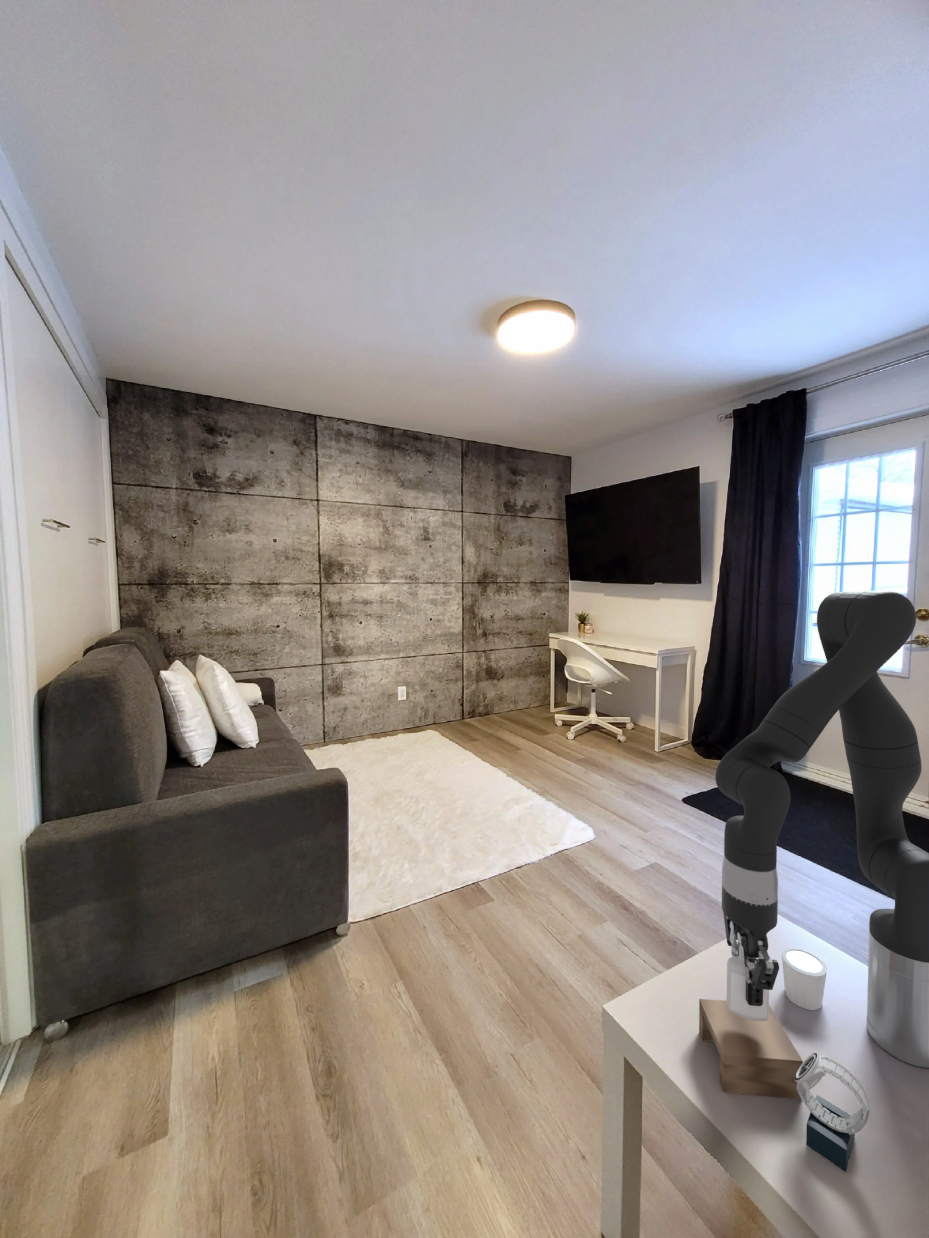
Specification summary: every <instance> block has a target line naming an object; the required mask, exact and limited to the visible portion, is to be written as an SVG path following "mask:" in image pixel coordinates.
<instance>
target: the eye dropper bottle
mask: <svg viewBox="0 0 929 1238" xmlns="http://www.w3.org/2000/svg"><path fill="white" fill-rule="evenodd" d="M747 958H750V959H758V958H751V957H747ZM754 969H755V968H752V974H753V973H754ZM726 1001H727V1005H728V1008H729V1010H730V1011H731V1012H732V1013H733V1014H735V1015H737V1016H740V1017H742V1018H745V1019H748V1020H753V1021H766V1020H768V1017H769V1006H770V990H764V989H763V1005H762V1006H751V1005H749V1004H748V1003H747V1001H746V973H745V965H744V964H743V963H742V961H741V953H740V944H739V956H734V957H733V956H731V957H729V958H728V959H727V961H726Z"/></svg>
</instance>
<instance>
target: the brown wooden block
mask: <svg viewBox="0 0 929 1238" xmlns="http://www.w3.org/2000/svg"><path fill="white" fill-rule="evenodd" d="M698 1004H699V1005H698V1006H699V1008H698V1011H699V1012H698V1025H699V1026H698V1032H699V1033H698V1034H699V1035H700V1038H701V1040H702V1041H704V1042H714V1045H715V1047H716V1049H717V1052H718V1054H719V1084H720V1087H721V1089H722V1092H723V1094H724V1093H725V1094H733V1095H734V1094H737V1095H746V1096H760V1097H768V1098H769V1097H771V1098H782V1099H793V1100H795V1099H796V1100H802V1099H801V1097H800V1095H799V1093H798V1091H797V1082H796V1081H795V1075H796V1073H797V1071H798V1069H799V1067H800V1066H801V1065H802V1063H803V1062H804V1061H803V1059H802V1057H801V1056H800V1054H799V1052H798V1051H797V1049H796V1047H795V1045H794V1044H793V1042H792V1040H791V1038H790V1037H789V1035H788V1034H787V1032H786V1030H785V1029H784V1027H783V1025H782V1024H781V1022H780V1020H779V1018H778V1017H777V1015H776V1014H775V1012H774V1011H773V1009H772V1008H771V1006H770V1005H769V1017H768V1020H766V1021H753V1020H748V1019H745V1018H742V1017H740V1016H737V1015H735V1014H733V1013H732V1012H731V1011H730V1010H729V1008H728V1005H727V1000H723V999H722V1000H720V999H705V998H699V1002H698Z"/></svg>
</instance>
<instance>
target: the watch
mask: <svg viewBox="0 0 929 1238" xmlns="http://www.w3.org/2000/svg"><path fill="white" fill-rule="evenodd" d="M826 1074H828V1075H831V1076H833V1077H834V1078H835V1079H837V1080H839V1081H840V1082H841V1083H842V1084H843V1085H844V1086H847V1088H848V1090H850V1091H851V1093H852V1094H854V1097H855V1098H856V1099H857V1100H858V1102H859V1104H860V1109H859V1110H858V1111H857V1112H856V1113H854V1114H849V1113H848V1112H847V1111H845V1110H843V1109H841V1108H840V1107H838V1106H836V1105H835V1104H833V1103H832V1102H830V1101H828V1100H827V1099H825V1098H824V1097H822V1096H820V1095H818V1094H816V1096H814V1094H813V1093H812V1092H811V1091H810V1090H811V1089H813V1088H814V1087H815V1086H817V1084H818V1083H819V1082H820V1081H821V1080H822V1078H823V1077H825V1076H826ZM795 1081H796V1082H797V1091H798V1093H799V1095H800V1097H801V1099H800V1100H802V1103H804V1105H805V1107H806V1108H807V1109H808V1110H809V1111H810V1113H809V1116H808V1118H807V1121H806V1128H805V1129H806V1134H805V1135H806V1136H805V1139H806V1140H805V1142H806V1143H805V1145H806V1146H807V1147H808V1148H810V1149H811V1150H813V1151H814V1152H816V1153H817V1154H818V1155H820V1156H821V1157H822V1158H825V1160H827V1161H829V1162H830V1163H832V1164H833V1165H835V1166H836V1167H837V1168H839V1169H840V1170H841V1171H843V1172H845V1173H847V1169H848V1166H849V1162H850V1159H851V1155H852V1150H853V1147H854V1144H855V1143H854V1142H855V1141H856V1139H855V1136H856V1135H855V1134H857V1133H858V1132H861V1130H863V1129H864V1127H865V1126H866V1124H867V1122H868V1119H869V1116H870V1111H871V1110H870V1102H869V1098H868V1095H867V1093H866V1091H865V1089H864V1087H863V1086H862V1084H861V1083H860V1082H859V1080H858V1079H857V1078H856V1077H855V1075H854V1074H852V1073H851V1071H849V1070H848V1069H847V1068H846V1067H845V1066H843V1065H842V1064H841V1063H839V1062H837V1061H835V1060H833V1059H831V1058H830V1057H829V1056H828V1055H820V1054H819V1053H818V1052H814V1053H811V1054H810V1055H808V1057H807V1058H806V1059H805V1060H804V1061H803V1063H802V1065H801V1066H800V1067H799V1069H798V1071H797V1073H796V1075H795Z"/></svg>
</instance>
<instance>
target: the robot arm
mask: <svg viewBox="0 0 929 1238" xmlns="http://www.w3.org/2000/svg"><path fill="white" fill-rule="evenodd" d="M916 613H917V612H916V609H915V606H914V604H913V603H912V602H911V600H910V599H909V598H908V597H906V596H905V595H904V594H902V593H899V592H896V591H890V590H854V591H852V590H850V591H837V592H833V593H832V592H831V594H829V595H828V594H827V596H826V597H824V599H823V600H822V601H821V603H819V606H818V610H817V614H816V627H817V632H818V636H819V637H818V638H819V640H820V643H821V647H822V650H823V652H824V655H825V659H826V663H824V664H823V665H822V666H821V667H819V668H818V669H817V670H815V671H813V672H812V673H811V674H809V675H807V676H806V677H805V678H803V679H801V680H800V681H799V682H797V683H795V684H794V685H792V686H791V687H789V689H787V690H786V691H785V692H784V693H783V694H781V696H780V697H779V698H778V699H777V700H776V702H775V703H774V704H773V706H772V707H771V708H770V710H768V713H767V714H766V716H765V717H764V718H763V720H762V721H761V722H760V724H759V726H758V727H757V728H756V729H755V730H754V731H752V733H749V734H748V735H747V736H746V737H745V738H743V739H742V740H741V741H740V742H739V743H738V744H736V745H734V747H732V748H731V749H730V750H729V751H727V753H726V754H725V755H724V756H723V757H722V758H721V760H720V761H719V763H718V765H717V767H716V769H715V770H716V771H715V775H714V776H715V784H716V786H717V788H718V790H719V791H720V792H721V793H722V794H723V795H725V797H728V798H729V799H730V800H732V801H734V802H736V803H737V804H739V805H741V806H742V807H743V809H744V810H743V811H744V812H743V813H744V814H743V815H735V816H731V817H729V818H728V819H727V821H726V822H725V824H724V841H723V842H724V844H723V845H724V846H723V847H724V848H723V861H722V865H721V866H722V867H721V910H722V912H723V920H724V927H725V936H726V938H725V939H726V943H727V946H728V947H731V949H730V950H731V951H730V954H731V957H734V956H739V944H740V953H741V961H742V963H743V964H744V965H745V973H746V1001H747V1003H748V1004H749V1005H751V1006H762V1005H763V989H764V990H769V991H772V990H773V988H774V985H775V982H776V980H777V977H778V973H779V971H780V964H779V962H778V960H777V959H771V957H770V955H769V953H768V950H769V941H768V936H767V935H768V933H769V932H770V931H772V930H773V929H775V928H776V927H777V926H778V913H779V912H778V910H779V908H778V904H779V879H778V878H779V877H778V869H777V862H778V860H777V859H778V858H777V857H778V856H777V855H778V853H777V852H778V851H777V849H778V845H777V844H778V843H777V842H778V838H779V836H780V834H781V831H782V829H783V825H784V823H785V820H786V816H787V814H788V811H789V809H790V805H791V790H790V787H789V784H788V782H787V780H786V778H785V777H784V776H783V774H781V773H780V772H778V771H777V770H775V769H773V768H771V767H772V766H773V765H775V764H776V763H778V762H788V763H798V762H800V761H801V760H802V759H804V757H805V756H806V755H807V754H808V753H809V751H810V750H811V748H812V747H813V745H814V744H815V742H816V741H817V740H818V738H819V737H820V735H821V734H822V732H824V729H825V728H826V727H827V726H828V724H829V723H830V721H831V720H832V719H833V717H834V716H835V715H836V714H837V712H839V718H840V723H841V731H842V739H843V745H844V750H845V756H846V761H847V765H848V769H849V774H850V780H851V789H852V795H853V800H854V801H853V802H854V807H855V808H854V809H855V820H856V821H855V822H856V823H855V824H856V848H857V850H856V851H857V858H858V864H859V866H860V869H861V872H862V874H863V876H865V877H866V878H867V880H868V881H869V882H870V883H872V884H873V885H874V886H875V887H877V888H878V889H879V890H881V891H882V892H883V893H885V894H886V895H888V896H889V897H890V898H892V899H894V908H878V909H876V910H874V911H872V912H871V914H870V916H869V922H868V923H869V924H868V925H869V927H868V930H869V931H868V961H867V963H868V966H867V967H868V968H867V995H866V996H867V1003H866V1004H867V1005H866V1030H867V1031H868V1034H869V1036H870V1037H871V1038H872V1039H873V1041H874V1042H875V1043H876V1045H878V1046H879V1047H880V1048H882V1049H883V1050H884V1051H886V1052H887V1053H888V1054H890V1055H891V1056H893V1057H895V1058H896V1059H898V1060H900V1061H902V1062H904V1063H907V1064H909V1065H911V1066H915V1067H920V1068H926V1069H927V1068H929V852H928V851H926V850H924V849H922V848H921V847H919V846H917V845H915V844H913V843H912V842H911V841H910V840H909V838H908V834H907V832H906V829H905V824H904V817H903V806H904V804H905V801H906V800H907V798H908V797H909V795H910V793H911V792H912V791H913V790H914V787H915V786H916V785H917V783H918V781H919V779H920V777H921V774H922V758H921V751H920V747H919V746H920V745H919V740H918V735H917V729H916V727H915V726H914V724H913V723H914V722H912V720H911V719H910V716H909V715H908V714H907V712H906V711H905V709H904V708H903V707H902V705H901V704H900V703H899V702H898V700H897V699H896V698H895V696H894V695H893V693H891V691H889V689H888V687H887V686H886V685H885V684H884V682H883V680H882V679H881V677H880V675H879V673H878V671H879V670H880V669H881V668H882V667H883V666H884V665H885V664H886V663H887V662H888V661H889V660H890V659H891V658H893V656H894V655H896V653H898V651H899V650H900V649H901V648H902V647H903V646H904V645H905V644H906V643H907V641H908V640H909V639H910V637H911V636H912V634H913V633H914V629H915V627H916V622H917V614H916ZM747 957H751V958H757V959H750V958H747ZM752 968H755V969H754V973H753V974H752Z"/></svg>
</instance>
